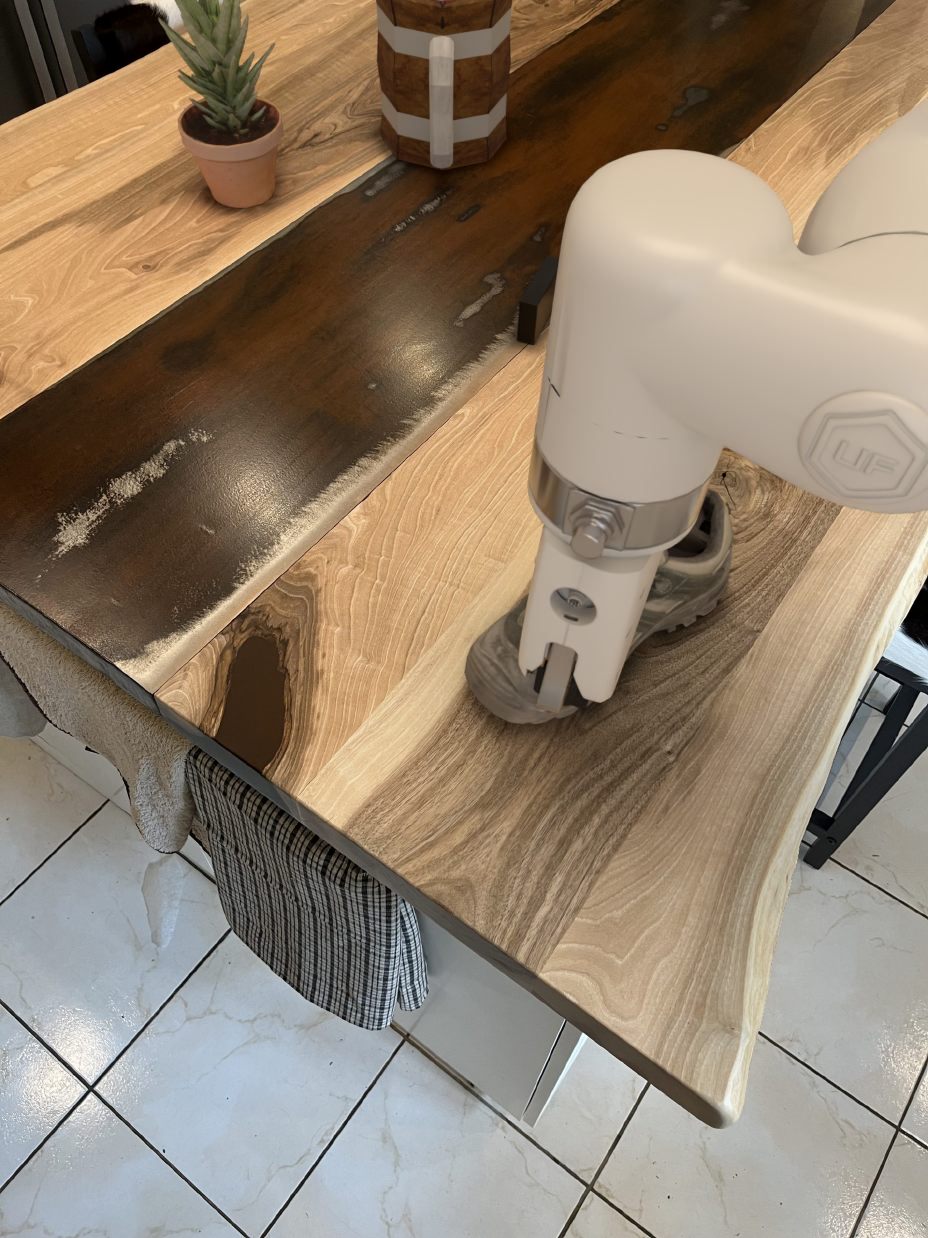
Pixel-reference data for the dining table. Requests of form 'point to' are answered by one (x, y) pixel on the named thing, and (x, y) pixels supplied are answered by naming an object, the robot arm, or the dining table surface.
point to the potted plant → (226, 105)
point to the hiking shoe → (675, 597)
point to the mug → (444, 79)
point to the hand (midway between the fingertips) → (563, 689)
